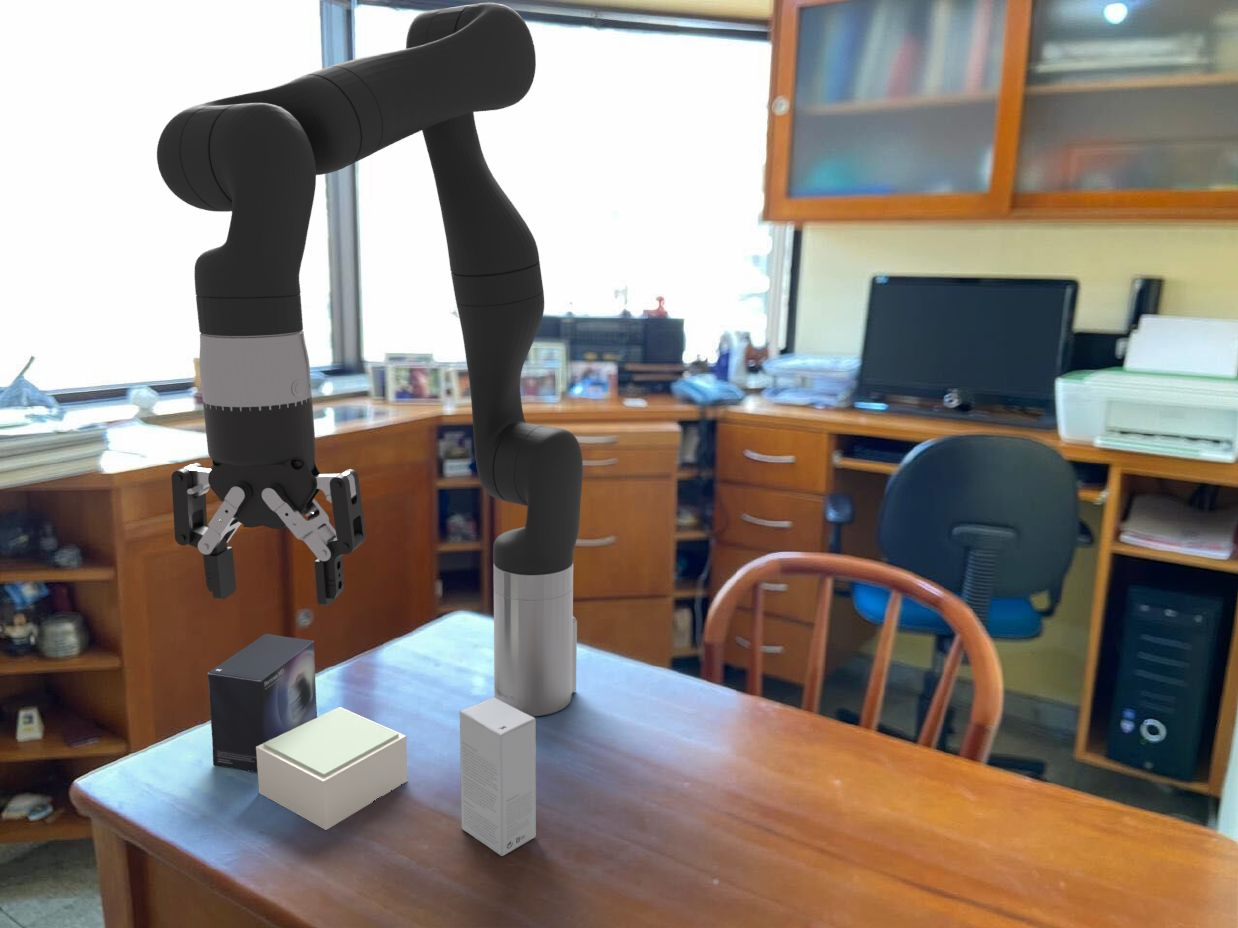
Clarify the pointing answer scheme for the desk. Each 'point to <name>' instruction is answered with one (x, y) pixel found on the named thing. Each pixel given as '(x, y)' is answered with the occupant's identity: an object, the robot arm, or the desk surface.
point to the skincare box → (498, 775)
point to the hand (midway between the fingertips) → (276, 598)
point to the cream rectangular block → (332, 766)
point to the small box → (260, 697)
